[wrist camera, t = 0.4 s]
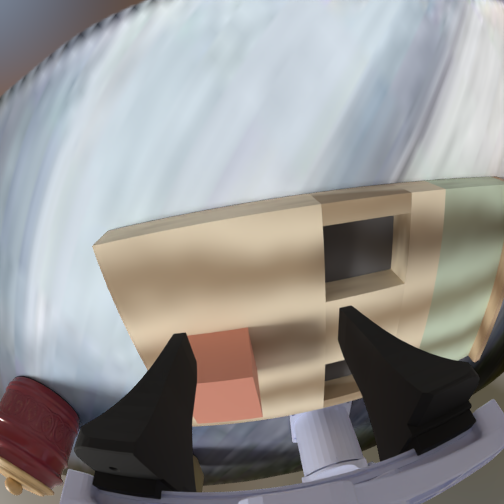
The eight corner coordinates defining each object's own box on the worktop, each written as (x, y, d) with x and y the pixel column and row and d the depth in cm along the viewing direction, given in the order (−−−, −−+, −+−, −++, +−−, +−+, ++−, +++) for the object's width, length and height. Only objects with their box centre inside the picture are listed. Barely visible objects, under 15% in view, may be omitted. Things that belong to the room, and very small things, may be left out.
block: (257, 370, 23) (262, 416, 19) (200, 377, 23) (197, 423, 19) (247, 327, 21) (252, 376, 16) (183, 336, 21) (175, 385, 16)
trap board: (461, 339, 30) (478, 359, 25) (184, 406, 29) (181, 437, 25) (495, 176, 20) (525, 188, 16) (107, 230, 20) (83, 255, 16)
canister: (74, 435, 33) (52, 517, 17) (12, 396, 30) (-22, 472, 13) (89, 409, 30) (59, 516, 14) (12, 360, 26) (-38, 455, 10)
